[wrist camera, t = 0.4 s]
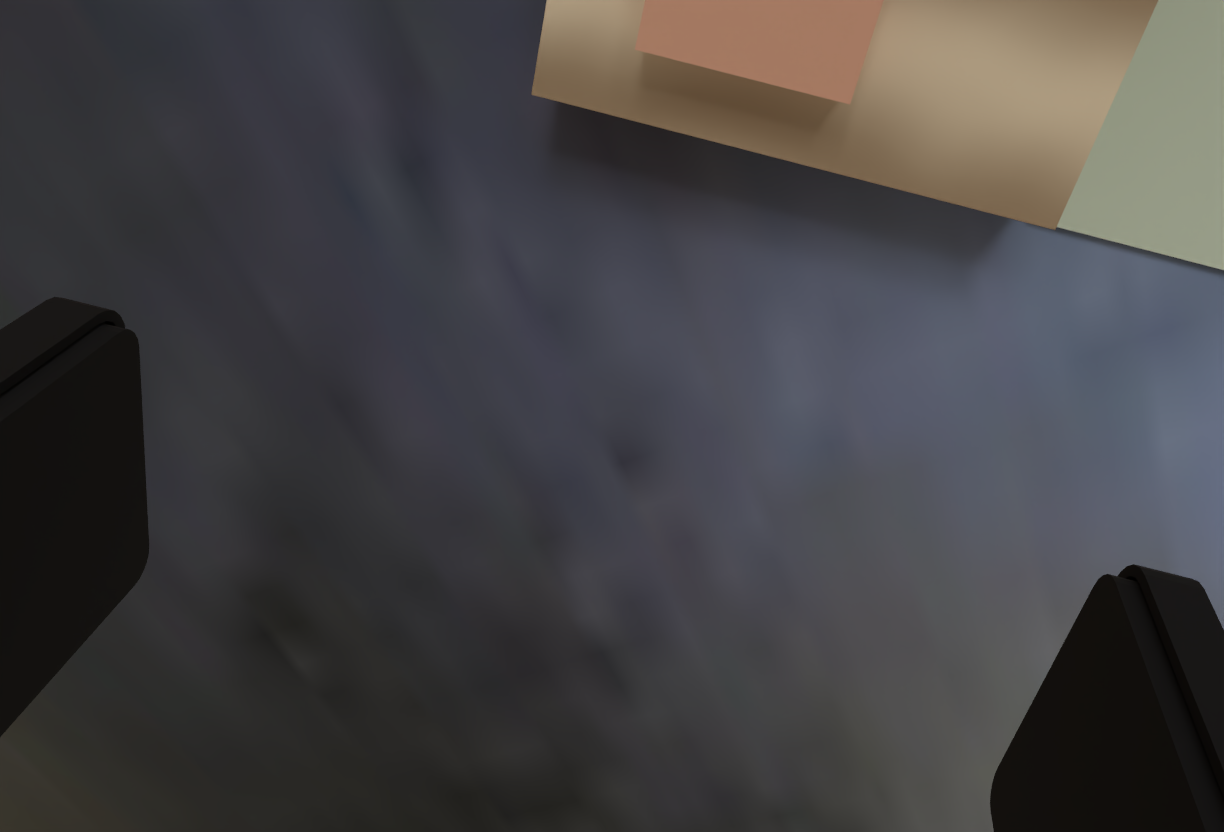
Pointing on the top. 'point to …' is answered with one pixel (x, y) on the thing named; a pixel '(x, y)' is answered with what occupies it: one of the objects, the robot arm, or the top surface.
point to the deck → (886, 95)
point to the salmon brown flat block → (767, 40)
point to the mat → (1162, 143)
